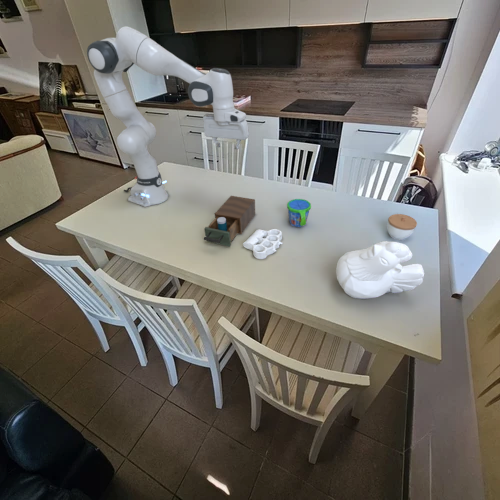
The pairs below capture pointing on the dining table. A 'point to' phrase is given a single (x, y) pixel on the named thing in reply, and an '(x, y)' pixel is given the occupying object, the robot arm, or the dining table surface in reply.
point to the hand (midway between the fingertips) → (227, 148)
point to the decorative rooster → (378, 271)
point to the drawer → (222, 232)
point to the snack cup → (298, 211)
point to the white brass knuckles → (264, 242)
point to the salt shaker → (222, 224)
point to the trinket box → (400, 226)
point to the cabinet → (238, 210)
